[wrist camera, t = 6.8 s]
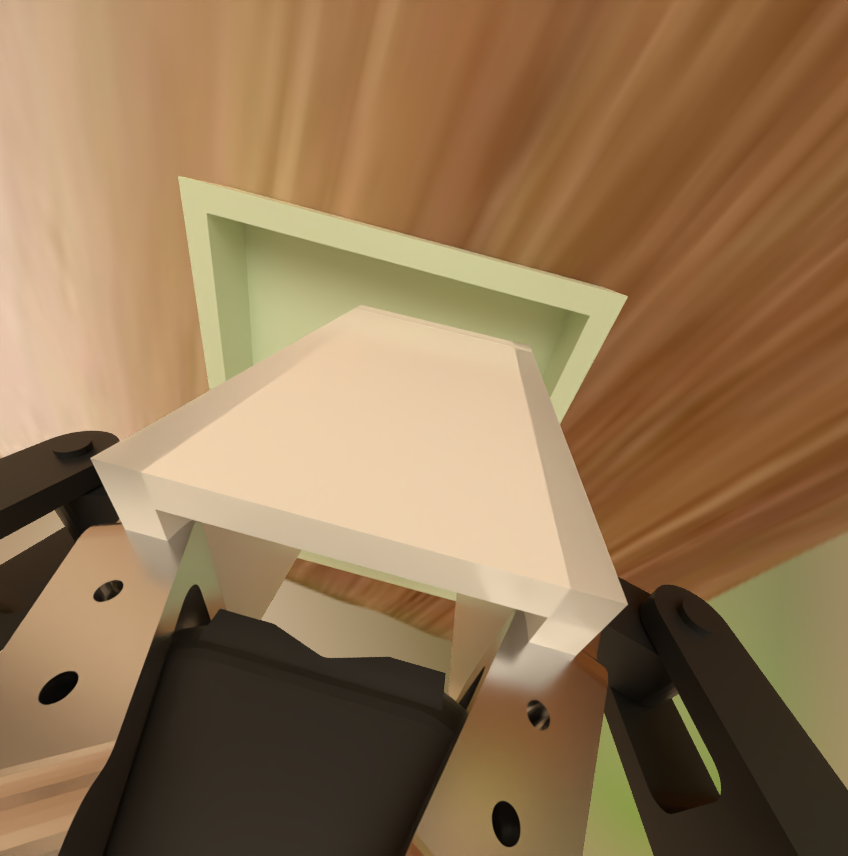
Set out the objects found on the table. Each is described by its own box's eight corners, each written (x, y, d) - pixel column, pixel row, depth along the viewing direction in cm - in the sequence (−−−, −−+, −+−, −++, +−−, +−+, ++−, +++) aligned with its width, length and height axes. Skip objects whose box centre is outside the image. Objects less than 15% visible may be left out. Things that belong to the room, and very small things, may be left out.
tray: (601, 286, 15) (628, 296, 12) (465, 568, 26) (464, 603, 24) (229, 186, 15) (178, 175, 12) (255, 510, 26) (231, 539, 24)
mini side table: (360, 304, 11) (90, 456, 4) (530, 345, 11) (628, 604, 3) (349, 442, 14) (196, 675, 7) (480, 476, 14) (471, 757, 7)
